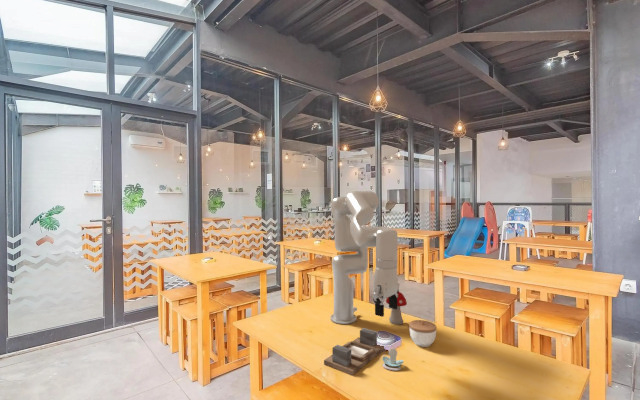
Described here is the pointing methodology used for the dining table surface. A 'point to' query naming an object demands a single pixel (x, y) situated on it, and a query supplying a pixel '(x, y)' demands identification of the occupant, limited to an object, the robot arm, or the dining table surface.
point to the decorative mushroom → (397, 310)
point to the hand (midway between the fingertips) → (386, 311)
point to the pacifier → (392, 361)
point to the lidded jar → (422, 332)
